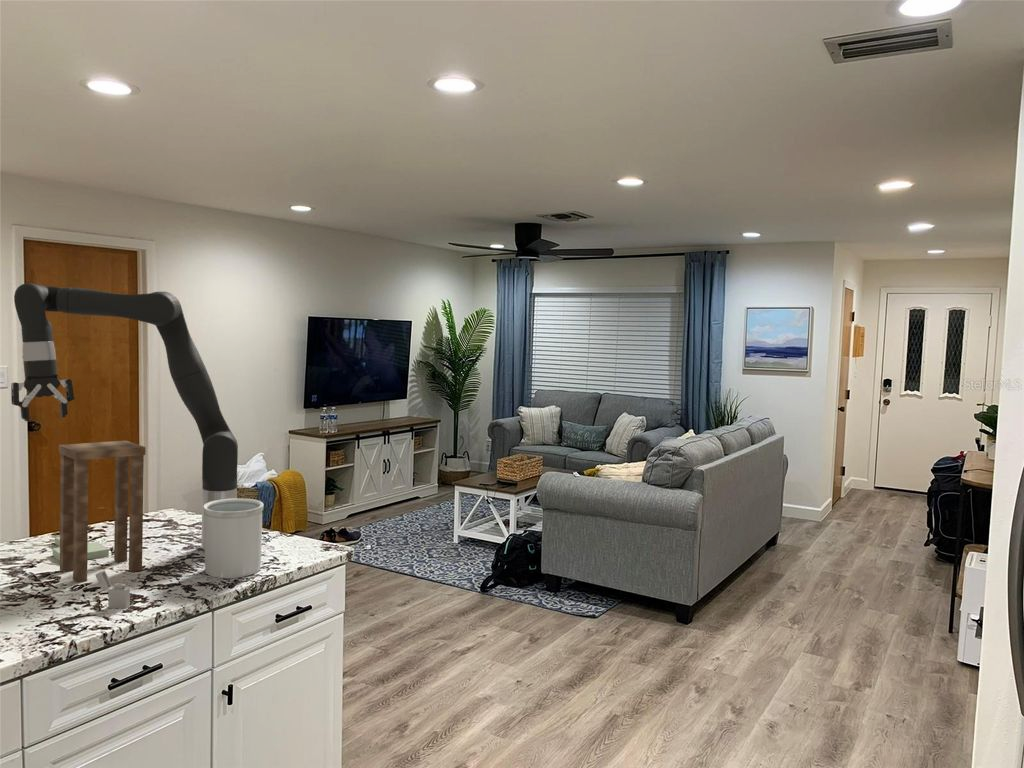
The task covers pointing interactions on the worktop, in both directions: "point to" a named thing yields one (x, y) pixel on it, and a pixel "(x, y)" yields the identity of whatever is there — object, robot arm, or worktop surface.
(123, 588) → the lighter
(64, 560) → the stool
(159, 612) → the worktop surface
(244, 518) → the utensil holder
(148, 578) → the worktop surface
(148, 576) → the worktop surface
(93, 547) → the green block
